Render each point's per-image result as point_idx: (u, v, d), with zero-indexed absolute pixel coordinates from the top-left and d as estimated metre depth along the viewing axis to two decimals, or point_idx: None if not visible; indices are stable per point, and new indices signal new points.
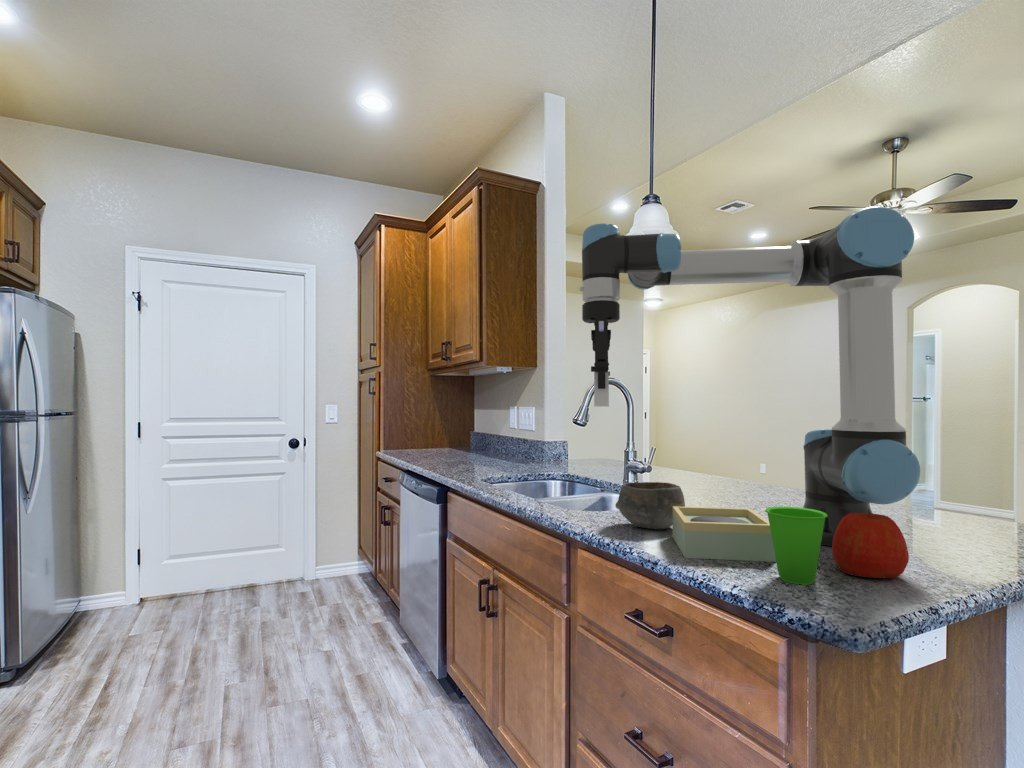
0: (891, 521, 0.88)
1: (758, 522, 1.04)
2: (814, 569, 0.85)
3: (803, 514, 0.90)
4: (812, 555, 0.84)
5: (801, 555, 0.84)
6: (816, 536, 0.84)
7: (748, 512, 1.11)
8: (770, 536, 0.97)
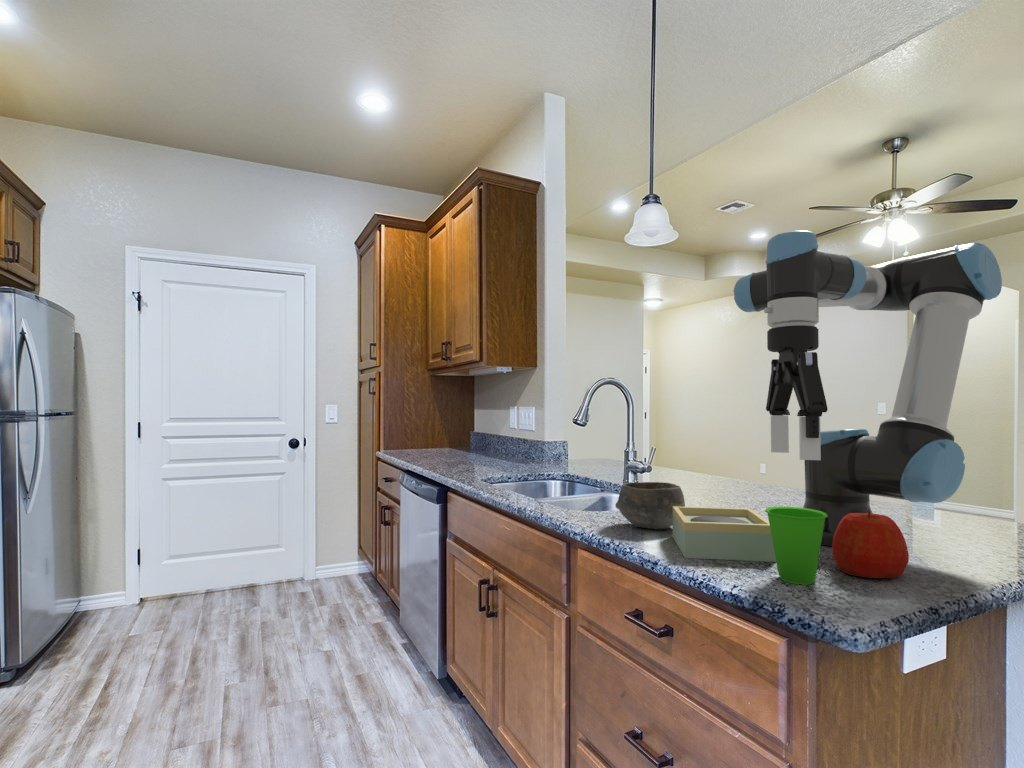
0: (891, 521, 0.88)
1: (758, 522, 1.04)
2: (814, 569, 0.85)
3: (803, 514, 0.90)
4: (812, 555, 0.84)
5: (801, 555, 0.84)
6: (816, 536, 0.84)
7: (748, 512, 1.11)
8: (770, 536, 0.97)
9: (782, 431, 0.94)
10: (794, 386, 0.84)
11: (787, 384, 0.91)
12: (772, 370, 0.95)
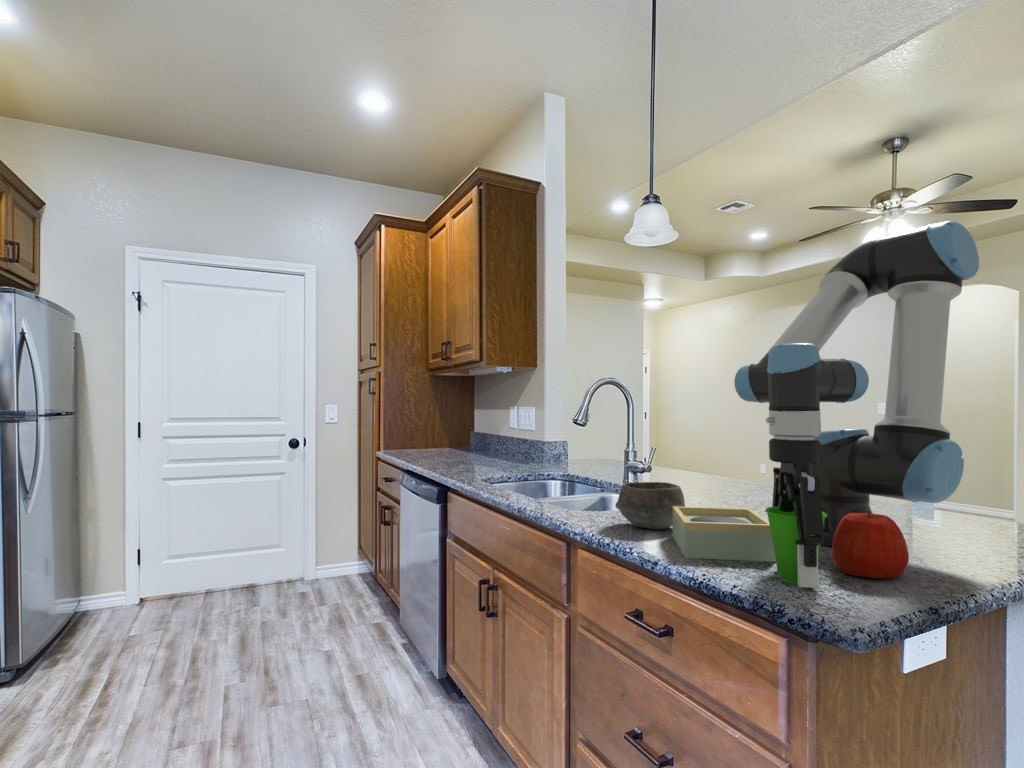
0: (891, 521, 0.88)
1: (758, 522, 1.04)
2: None
3: None
4: None
5: None
6: None
7: (748, 512, 1.11)
8: (770, 536, 0.97)
9: None
10: (794, 506, 0.85)
11: None
12: (775, 478, 0.94)
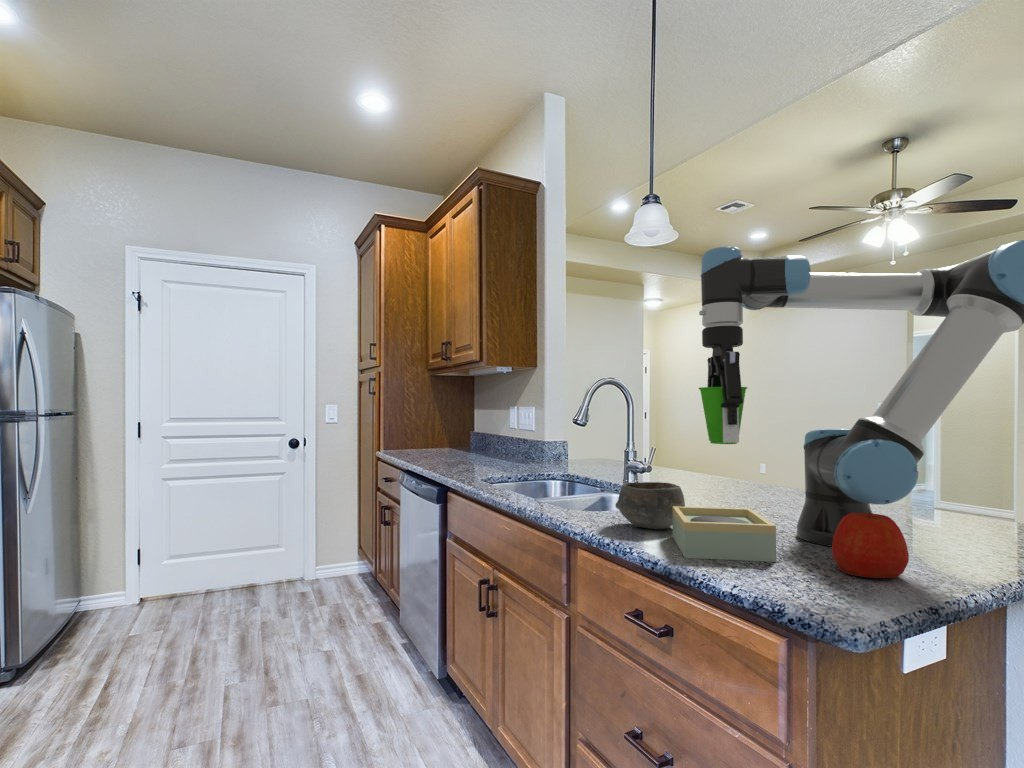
0: (891, 521, 0.88)
1: (758, 522, 1.04)
2: None
3: None
4: None
5: None
6: None
7: (748, 512, 1.11)
8: (770, 536, 0.97)
9: None
10: (721, 379, 1.03)
11: None
12: (708, 366, 1.12)
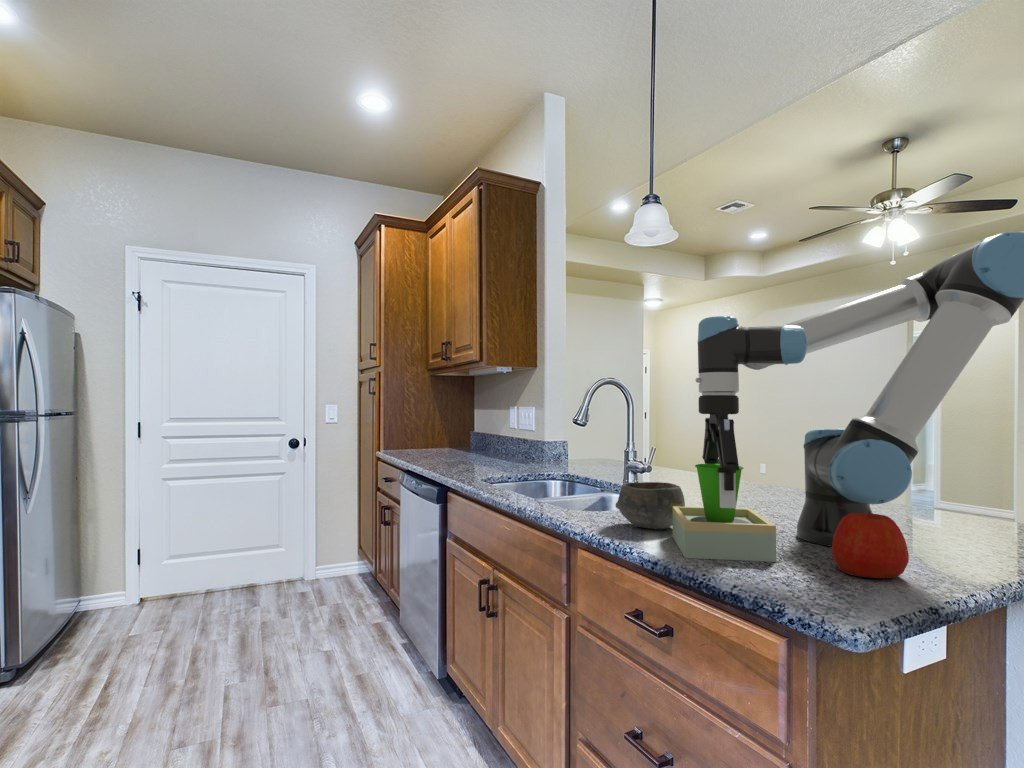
0: (891, 521, 0.88)
1: (758, 522, 1.04)
2: (732, 511, 1.04)
3: None
4: None
5: None
6: None
7: (748, 512, 1.11)
8: (770, 536, 0.97)
9: None
10: (717, 446, 1.03)
11: None
12: (705, 427, 1.13)
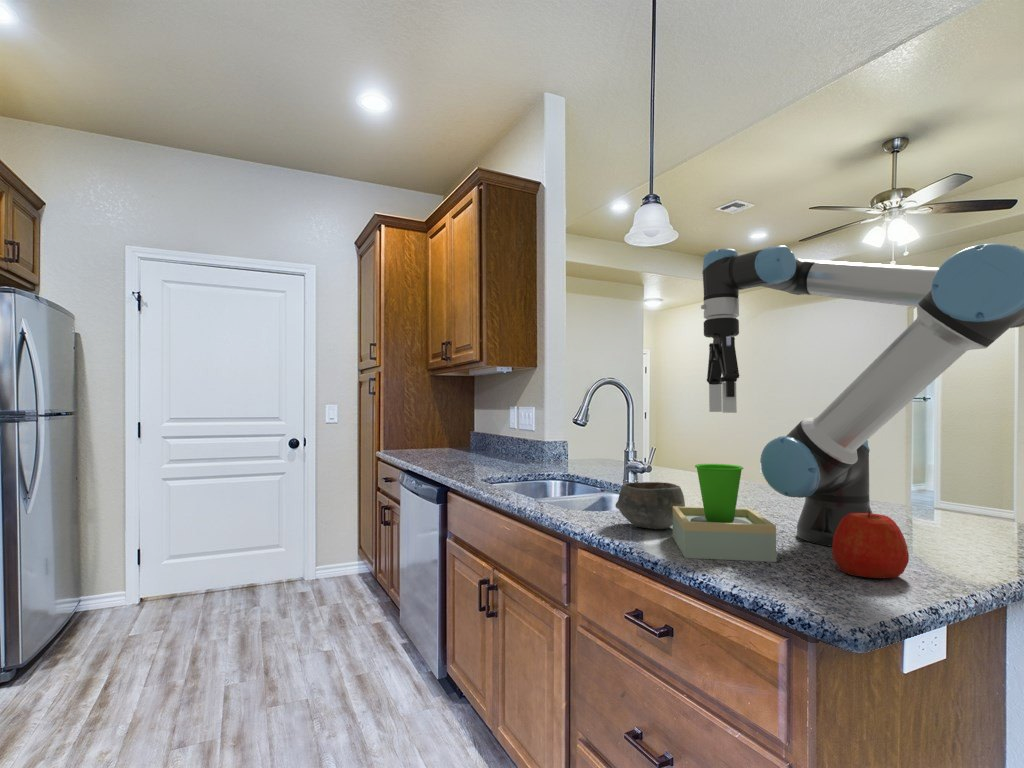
0: (891, 521, 0.88)
1: (758, 522, 1.04)
2: (732, 511, 1.04)
3: (727, 469, 1.09)
4: (729, 500, 1.03)
5: (721, 500, 1.03)
6: (732, 484, 1.03)
7: (748, 512, 1.11)
8: (770, 536, 0.97)
9: (717, 396, 1.28)
10: (720, 361, 1.18)
11: (719, 361, 1.25)
12: (709, 351, 1.28)
